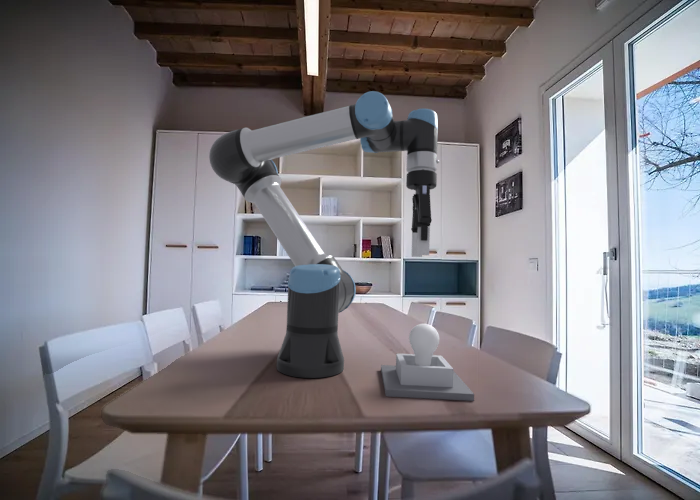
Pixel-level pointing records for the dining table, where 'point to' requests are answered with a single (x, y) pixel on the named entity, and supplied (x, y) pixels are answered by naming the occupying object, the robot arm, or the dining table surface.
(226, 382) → the dining table surface
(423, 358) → the lightbulb
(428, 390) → the lamp socket
